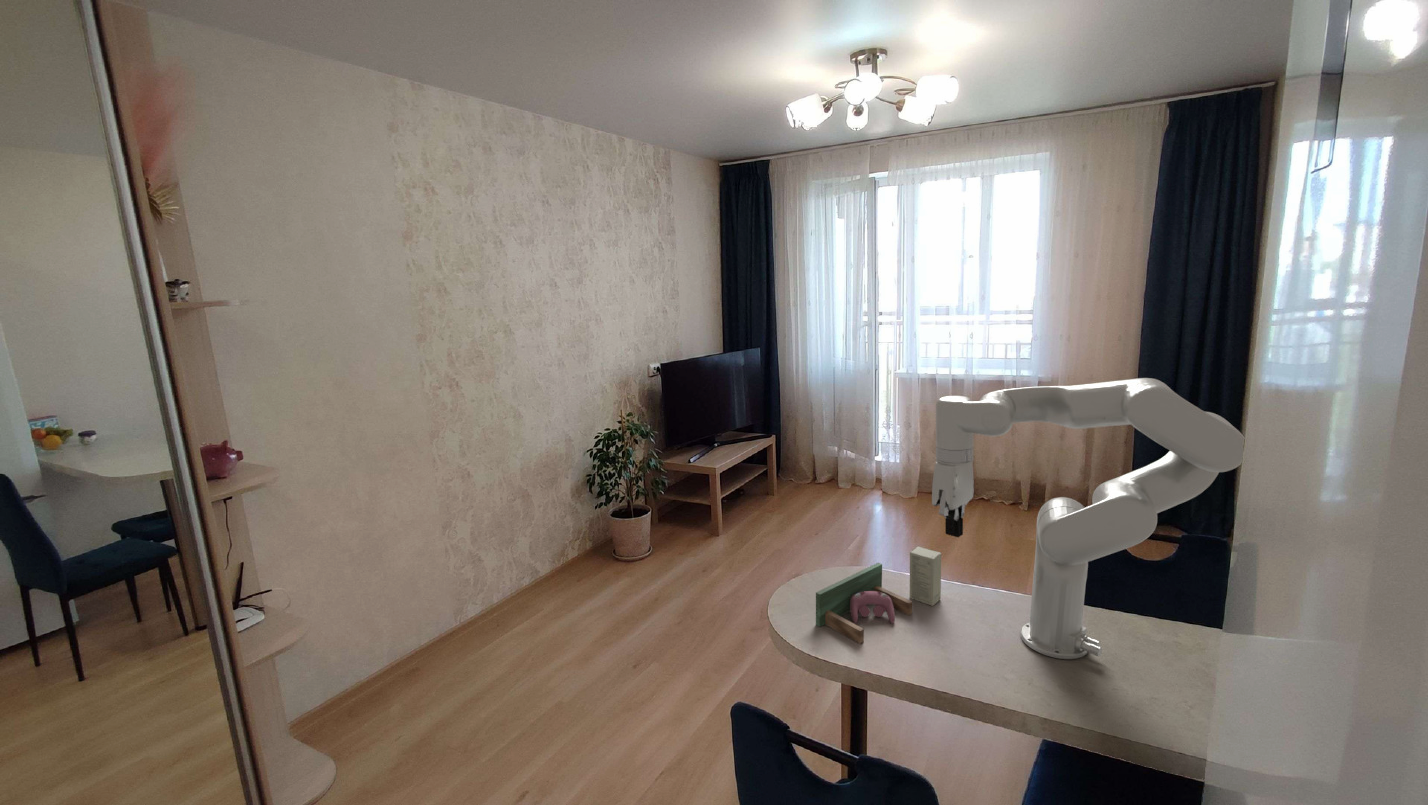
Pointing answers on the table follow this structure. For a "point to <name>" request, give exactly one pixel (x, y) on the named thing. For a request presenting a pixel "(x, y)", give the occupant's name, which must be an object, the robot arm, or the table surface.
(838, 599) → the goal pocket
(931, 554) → the skincare box
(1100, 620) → the table surface
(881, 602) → the video game controller
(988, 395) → the robot arm
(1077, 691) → the table surface
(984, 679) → the table surface
